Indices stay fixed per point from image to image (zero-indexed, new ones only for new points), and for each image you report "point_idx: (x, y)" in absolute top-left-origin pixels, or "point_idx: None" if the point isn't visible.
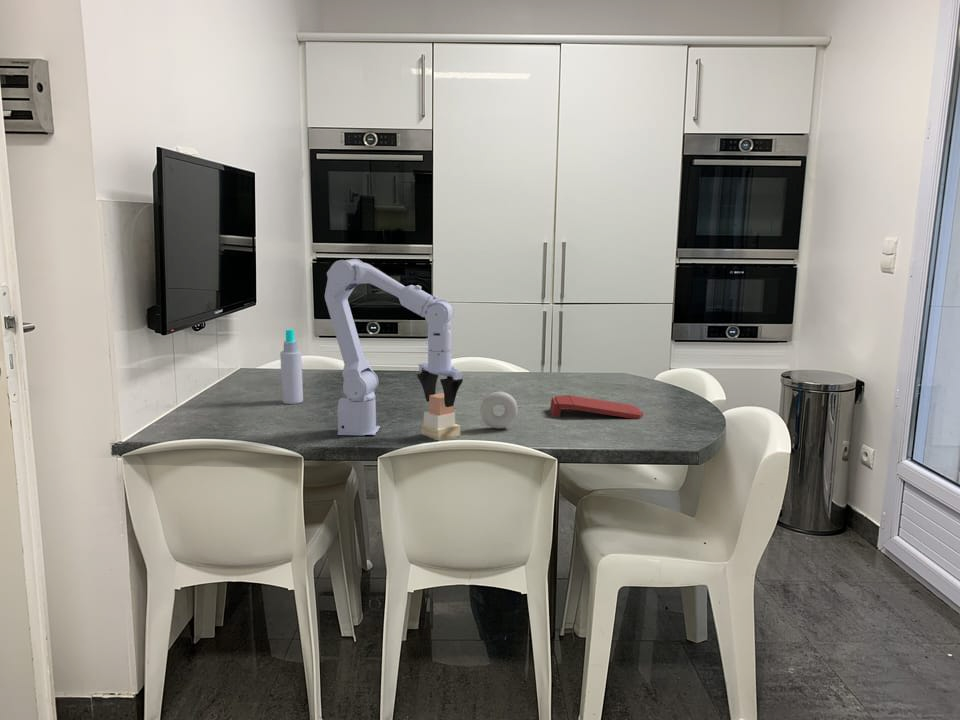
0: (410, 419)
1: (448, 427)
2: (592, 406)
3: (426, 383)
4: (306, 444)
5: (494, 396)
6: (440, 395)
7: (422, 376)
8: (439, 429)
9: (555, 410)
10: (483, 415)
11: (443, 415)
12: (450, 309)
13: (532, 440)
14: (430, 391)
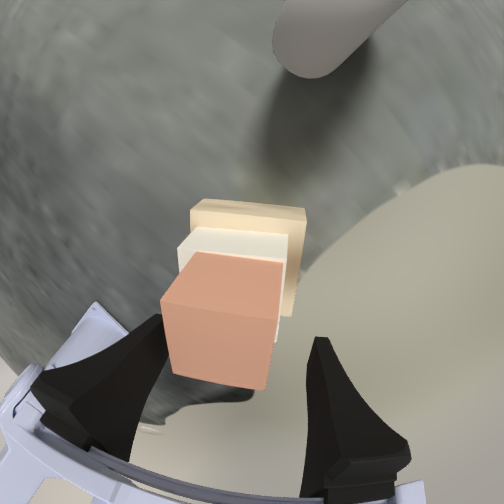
0: (60, 192)
1: (293, 274)
2: None
3: (134, 417)
4: (144, 410)
5: (380, 8)
6: (209, 353)
7: (125, 460)
8: (286, 309)
9: None
10: (317, 77)
11: (279, 319)
12: None
13: (491, 105)
14: (148, 366)
